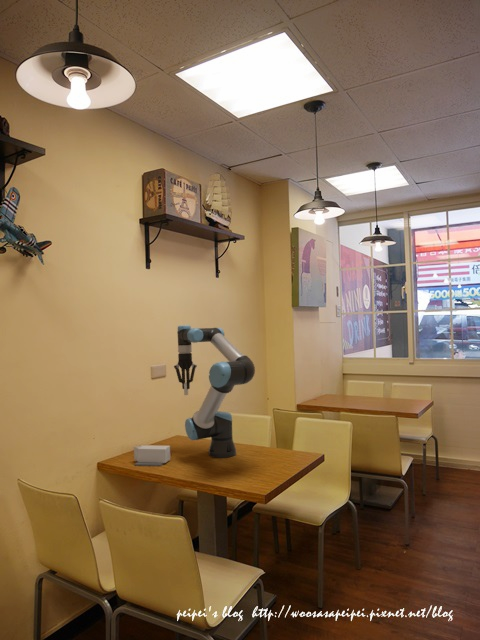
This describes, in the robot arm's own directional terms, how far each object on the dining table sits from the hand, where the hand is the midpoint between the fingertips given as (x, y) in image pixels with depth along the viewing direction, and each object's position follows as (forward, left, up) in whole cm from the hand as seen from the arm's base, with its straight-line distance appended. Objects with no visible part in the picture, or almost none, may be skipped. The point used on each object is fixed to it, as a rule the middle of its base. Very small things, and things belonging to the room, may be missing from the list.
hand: (186, 394), depth 258 cm
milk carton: (+5, +19, -28) cm, 34 cm away
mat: (+15, +19, -32) cm, 40 cm away
